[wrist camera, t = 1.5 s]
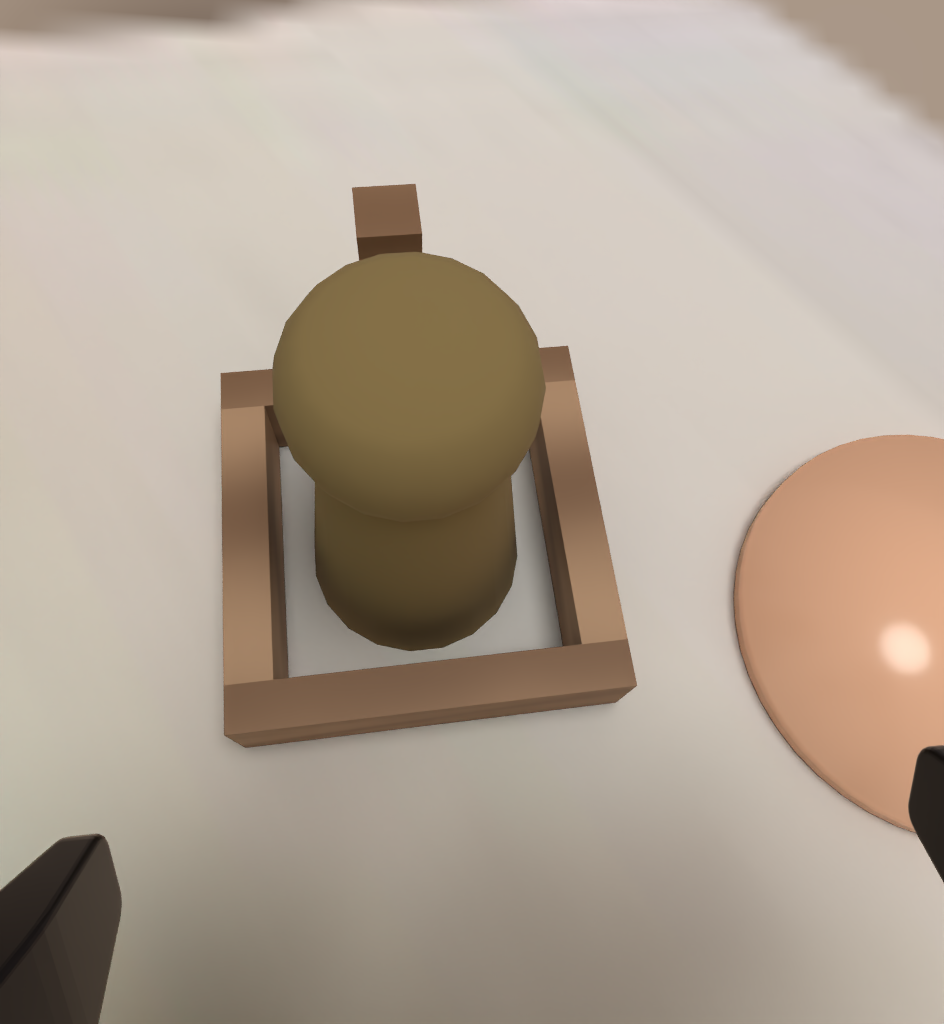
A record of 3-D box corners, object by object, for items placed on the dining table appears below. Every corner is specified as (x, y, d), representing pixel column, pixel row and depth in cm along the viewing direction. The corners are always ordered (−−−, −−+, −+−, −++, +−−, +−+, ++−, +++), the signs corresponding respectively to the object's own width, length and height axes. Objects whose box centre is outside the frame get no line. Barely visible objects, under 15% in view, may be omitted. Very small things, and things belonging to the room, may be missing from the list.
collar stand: (615, 702, 23) (690, 643, 16) (245, 747, 22) (168, 703, 15) (544, 333, 27) (581, 174, 21) (238, 357, 26) (176, 197, 20)
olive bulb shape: (325, 454, 25) (257, 188, 15) (518, 465, 25) (578, 209, 15) (302, 645, 23) (203, 482, 13) (515, 655, 23) (584, 502, 13)
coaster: (963, 946, 21) (983, 949, 20) (650, 584, 24) (658, 576, 23) (1218, 667, 24) (1243, 661, 23) (911, 383, 27) (924, 371, 27)
